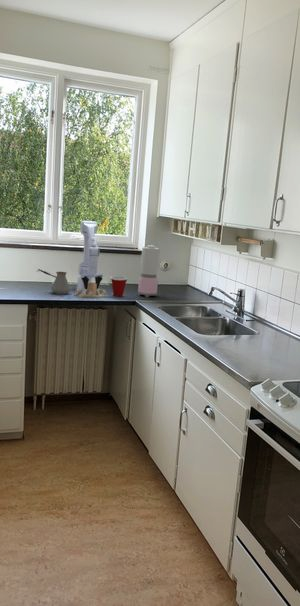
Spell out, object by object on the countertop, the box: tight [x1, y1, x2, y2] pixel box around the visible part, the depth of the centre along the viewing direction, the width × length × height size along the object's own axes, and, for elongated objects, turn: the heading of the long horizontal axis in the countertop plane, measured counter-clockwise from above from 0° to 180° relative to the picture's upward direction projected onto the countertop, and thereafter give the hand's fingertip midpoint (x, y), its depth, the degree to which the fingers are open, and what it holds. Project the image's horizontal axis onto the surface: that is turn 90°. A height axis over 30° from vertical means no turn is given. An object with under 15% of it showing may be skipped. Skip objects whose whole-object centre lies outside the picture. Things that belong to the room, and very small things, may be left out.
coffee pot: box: [37, 268, 71, 295], centre depth 307 cm, size 21×12×15 cm, turn 124°
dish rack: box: [74, 287, 108, 299], centre depth 311 cm, size 11×17×4 cm, turn 128°
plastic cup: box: [110, 275, 128, 298], centre depth 316 cm, size 11×11×12 cm
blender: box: [137, 244, 160, 298], centre depth 326 cm, size 16×12×32 cm
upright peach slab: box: [86, 281, 97, 295], centre depth 310 cm, size 8×2×7 cm, turn 38°
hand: (91, 288), depth 310 cm, fingers open, 7 cm apart
